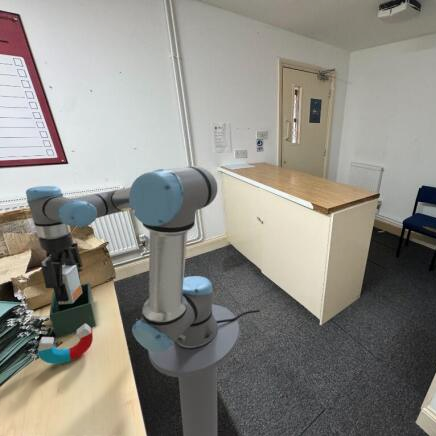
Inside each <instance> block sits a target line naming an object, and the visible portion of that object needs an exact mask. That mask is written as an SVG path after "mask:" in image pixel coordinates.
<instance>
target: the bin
mask: <svg viewBox="0 0 436 436" xmlns="http://www.w3.org/2000/svg"><path fill="white" fill-rule="evenodd" d="M81 285H82V294H81V295H80V296H79V297H78V298H77V299H76V300H75V302H74V303H72V304H59V303H58V300H57V296H56V295H55V292H54V291H52V293H51V301H50V302H51V303H50V309H49V316H48V317H49V319H50V322H51V326H52V329H53V332H54V334H55V338H56V339H60V338H63V337H66V336H68V335H71V334H75V333H77V329H78V328H80V327H81V326H82V325H84V324H85V323H86V324H87V325H89V327H90V328H93V327H96V326H97V322H96V310H95V302H94V297H93V291H92V288H91V283H90V282H88V283H83V284H81Z"/></svg>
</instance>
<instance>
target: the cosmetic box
mask: <svg viewBox="0 0 436 436" xmlns="http://www.w3.org/2000/svg"><path fill="white" fill-rule="evenodd" d="M79 276H80V274H79V275H78V271H77V267H76V265H65V264H64V265H63V266H62V284H65V287H66V291H67V294H68V298H69V300H68V301H62V302H58V303H59V304H72V303H74V302H75V300H76V299H77V298H78V297H79V296H80V295H81V294H82V288H81V285H82V283H81V284H80V281H81V278H80V279H79Z"/></svg>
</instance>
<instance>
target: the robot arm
mask: <svg viewBox="0 0 436 436" xmlns="http://www.w3.org/2000/svg"><path fill="white" fill-rule="evenodd" d="M218 190H219V189H218V182H217V179H216V178H215V176H214V175H213V174H212V173H211V172H210V171H209V170H208V169H207V168H204V167H201V166H196V165H190V166H183V167H174V168H167V169H164V168H160V169H155V170H153V171H148V172H145V173H142V174H141V175H139V176H138V177H136V178H135V179H134V180H133V182H132V184H131V186H129V187H124V188H120V189H115V190H109V191H105V192H100V193H93V194H88V195H84V196H78V197H73V198H72V197H65V196H63V195H64V193H63V192H62V190H61V188H60V187H58V186H54V185H41V186H32V187H29V188H28V189H26V190H25V195H26V203H27V205H28V207H29V211H30V215H31V218H32V221H33V224H34V227H35V231H36V234H37V237H38V242H39V245H40V248H41V250H43V251H45V258H44V260H39V261H38V265H39V267H40V268H41V271H42V276H43V281H44V285H45V289H53V292H55V295H56V296H57V300H58V302H62V301H68V300H69V298H68V294H67V291H66V287H65V284H62V266H63V265H76V267H77V271H78V275H79V279H80V284H81V288H82V285H83V284H82V281H81V276H80V272H82V271H83V262H82V259H81V255H80V252H79V246H78V245H79V244H78V242H74V240H73V239H74V238H73V235H72V232H71V227H78V228H85V227H88V226H90V225H91V224H92V223H94V222H95V221H96V220H97V219H99V218H103V217H105V216H110V215H113V214H114V215H115V214H118V213H123V212H127V211H133V215H134V217H135V218H136V219H137V220H138V221H139V222H140V223H142V226H143V227H144V228H145V229H146V230H147V231H149V246H148V247H149V252H148V253H149V254H148V255H149V256H148V259H149V260H148V261H149V262H148V299H147V300H146V301H145V302H144V304H142V305H143V306H142V309H141V312H142V313H141V314H142V315H141V316H142V317H141V318H140V319H139V320H137V321H135V323H134V324H133V325H132V328H131V332H132V335H133V337H134V339H135V340H136V341H137V342H138V343H139V345H141V346H142V347H143V348H144V349H146V350H147V351H148V350H149V351H151V352H154V353H162V352H164V351H166V350H167V349H168V348H169V347H170V346H171V345H173V343H174V342H176V344H177V345H178V346H179V347H181V348H184V349H197V348H200V347H203V346H205V345H207V344H208V343H210V342H211V341H212V340H213V339H214V337H215V336H216V334H217V323H222V322H229V321H234V320H236V319H237V320H238V319H240V318H241V317H243V316H244V315H248V314H253V313H254V314H255V313H260V312H261V310H260V309H254V310H247V311H244V312H242V313H240V314H238V315H237V316H235V318H232V319H225V320H219V321H216V320H215V318H214V315H213V313H212V304H213V287H212V286H213V285H212V282H211V280H210V279H208V278H207V277H205V276H199V275H193V276H192V275H191V276H187V277H185V269H186V258H187V257H186V255H187V243H188V232H189V231H190V230H192V229H193V228H194V227H195V223H196V214H197V212H198V210H201V209H204V208H206V207H208V206H209V205H211V203H213V202H214V200H215V199H216V197H217V195H218Z"/></svg>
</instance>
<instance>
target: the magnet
mask: <svg viewBox="0 0 436 436" xmlns="http://www.w3.org/2000/svg"><path fill="white" fill-rule="evenodd" d="M93 334H94V333H93V330H92V327H89V325H87V324H86V323H85V324H84V325H82V326H81V327H80V328H78V329H77V332H76V337H77V338H79V341H78V342H77V343H76V344H75V345H73V346H70V347H69V348H64V349H63V348H62V349H61V348H57V347H55V346H54V340H55V337H53V336H42V337H41V338H40V340H39V343H38V349H37V354H38V357H39V359H41V360H42V362H45V363H48V364H53V365H54V364H56V365H57V364H63V363H64V364H65V363H68V362H71V361H73V360H75V359H78V358H79V357H81V356H82V355H84V354H85V353H87V351H88V350H89V348H90V347H91V346H92V344H93V339H94V338H93V336H94V335H93Z"/></svg>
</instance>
